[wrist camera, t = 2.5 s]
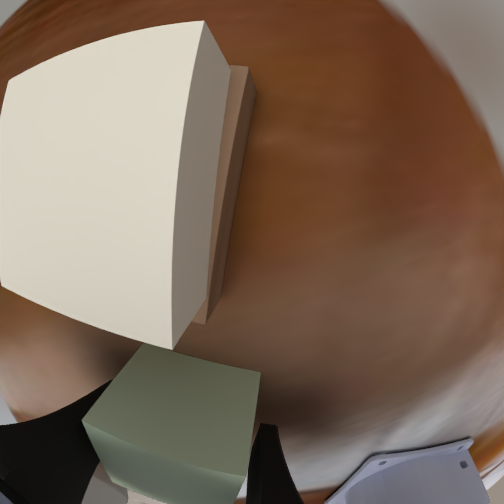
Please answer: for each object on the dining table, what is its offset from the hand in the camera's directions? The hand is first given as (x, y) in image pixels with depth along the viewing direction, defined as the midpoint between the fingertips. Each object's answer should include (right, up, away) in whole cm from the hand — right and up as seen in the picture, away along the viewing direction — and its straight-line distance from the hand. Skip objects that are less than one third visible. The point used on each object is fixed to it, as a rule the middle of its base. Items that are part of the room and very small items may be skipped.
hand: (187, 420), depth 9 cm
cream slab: (-1, +9, -3) cm, 10 cm away
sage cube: (0, 0, +1) cm, 2 cm away
